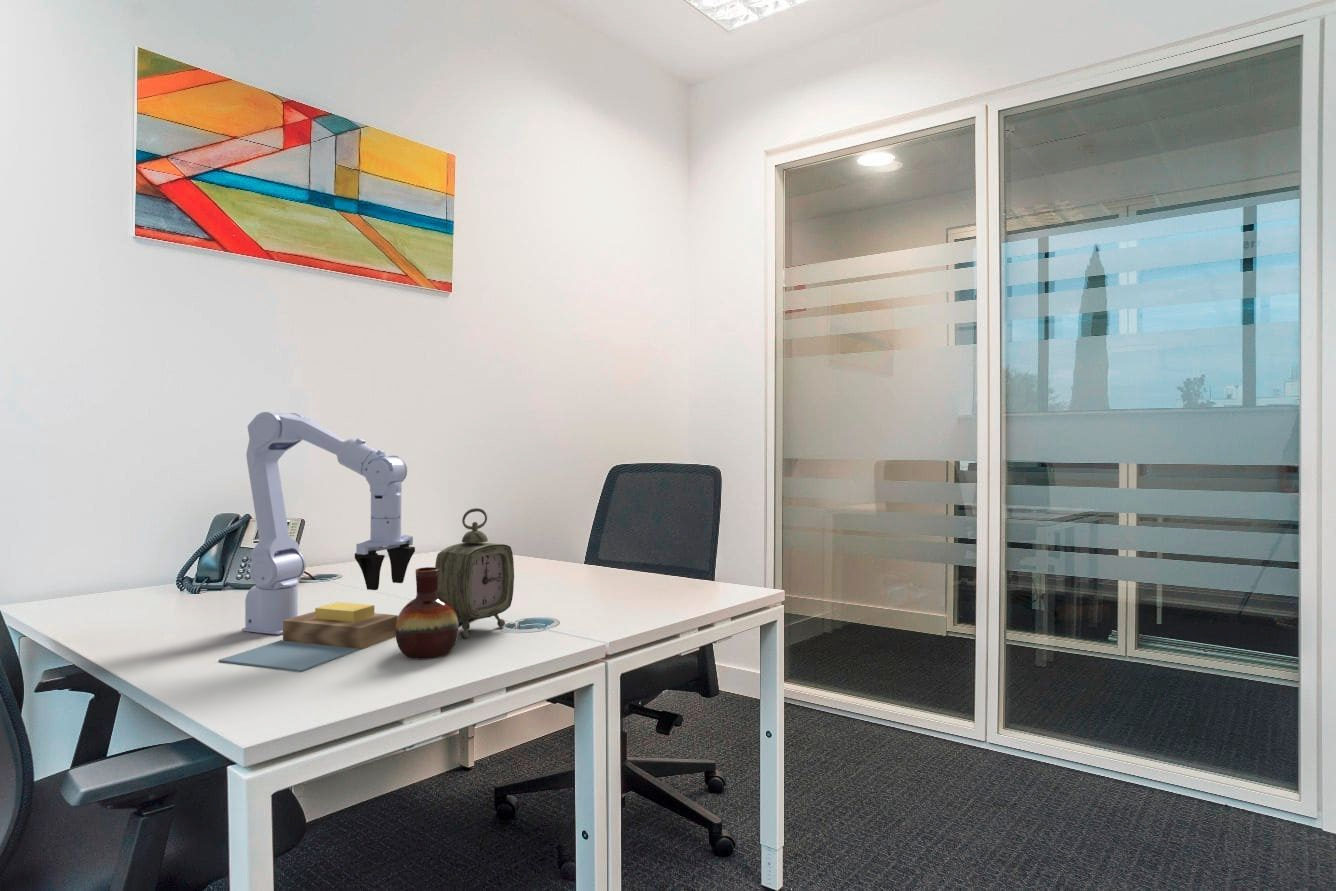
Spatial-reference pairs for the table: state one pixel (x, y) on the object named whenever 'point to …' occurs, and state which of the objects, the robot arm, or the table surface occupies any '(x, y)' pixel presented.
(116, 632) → the table surface
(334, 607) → the flat yellow block
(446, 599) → the tabletop clock
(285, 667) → the mat
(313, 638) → the brown wooden block
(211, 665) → the table surface
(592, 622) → the table surface
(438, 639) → the vase
